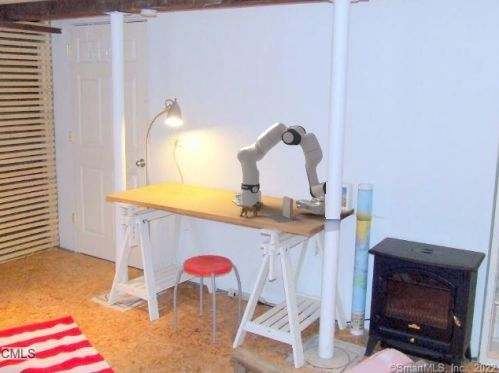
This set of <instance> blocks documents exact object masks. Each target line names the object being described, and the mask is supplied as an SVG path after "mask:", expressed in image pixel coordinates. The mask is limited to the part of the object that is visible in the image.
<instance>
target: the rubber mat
mask: <svg viewBox="0 0 499 373" xmlns="http://www.w3.org/2000/svg"><path fill="white" fill-rule="evenodd" d="M264 217H265V218H268V219H271V221H274V222H277V223H280V224H281V223H290V222H298V221H299V222H300V221H303V219H302V218H299V217H297V216H294V215H293V219H288V218H286V217H284V216H283V213H279V214H278V213H277V214H270V215H264Z"/></svg>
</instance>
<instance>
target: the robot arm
mask: <svg viewBox="0 0 499 373" xmlns="http://www.w3.org/2000/svg"><path fill="white" fill-rule="evenodd" d="M280 142H283V143H284V144H285V145H287V146H300V148H301V149H302V152H303V154H304V155H303V156H304V158H305V159H304V161H305V164H304V166H305V167H304V168H305V171H306V176H307V180H308V185H309V194H310V196H311V198H312V199H311V200H308V199H296V200H295V206H296V209H300V210H301V209H302V210H303V209H304V210H307V211H309V212H312V213H322V214H324V213H326V211H325V194H326V182H327V181H323V182H320V181H319V178H318V177H319V176H318V172H317V167H318V165H319V164H320V163H321V161H322V160H323V156H324V155H323V150H322V147H321V144H320V142H319V140H318V138H317V136H316V135H315V133H313V132H307V131H306V129H305V128H304V126H300V125H293V126H292V125H291V126H289V127H287V126H286V124H284V123H282V122H277V123H274V124H273V125H272V126H270V127H269V128H267V129H266V130H265V131H264V132H263V133H262V134H260V135H259V136H258V137H257V139H256V141H255V142H254V143H253V144H251V145H249V146H245V147H242V148H241V149H239V150H238V152H237V155H236V157H237V160H238V161H239V163H240V167H241V171H242V183H241V184H240V185H241V186H240V189H239V190H238V191H237V192H236V194H235V199H232V203H234V204H236V206H242V207H244V206H253V205H254V204H256V202H258V201H260V202H262V204H264V202H263V201H262V191H261V190H260V189H261V184H260V171H259V169H258V167H257V163H258V162H260V161H262V159H264V157H266V155H267V153H269V151H271V150H272V149H273V148H274V147H275V146H277V145H278V144H279V143H280Z"/></svg>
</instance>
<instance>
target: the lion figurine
mask: <svg viewBox="0 0 499 373" xmlns="http://www.w3.org/2000/svg"><path fill="white" fill-rule="evenodd" d="M262 206H263V203H262V202H260V201H258V202H256V204H254V205H253V206H242V208H241V212H240V215H239V217H244V216H245V217H246V218H249V216H248V212H249V213H253V216H255V217H258V213H259V212H260V211H261V209H262V208H263V207H262ZM243 214H244V215H243Z"/></svg>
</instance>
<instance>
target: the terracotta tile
mask: <svg viewBox="0 0 499 373" xmlns="http://www.w3.org/2000/svg"><path fill="white" fill-rule="evenodd" d="M293 212H294V198H292V197H288V196H282V214H283V216H284V217H286V218H288V219H293V216H294V213H293Z"/></svg>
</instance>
